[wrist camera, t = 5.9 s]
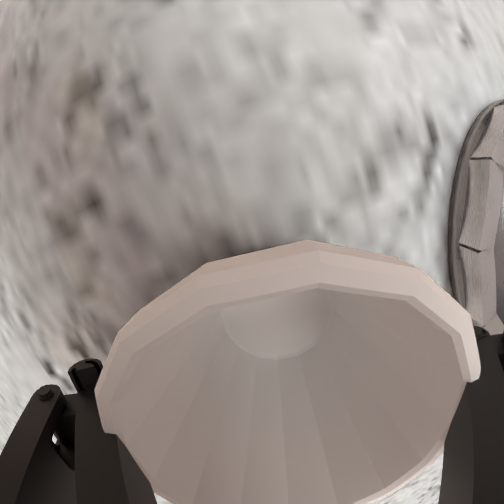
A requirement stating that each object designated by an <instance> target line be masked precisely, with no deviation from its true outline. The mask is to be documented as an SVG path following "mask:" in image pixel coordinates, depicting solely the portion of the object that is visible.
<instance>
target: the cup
mask: <svg viewBox="0 0 504 504" xmlns="http://www.w3.org/2000/svg"><path fill="white" fill-rule="evenodd" d="M480 371H481V364H480V358H479V352H478V347H477V342H476V337H475V333H474V328H473V324H472V320H471V316H470V314H469V313H468V312H467V311H466V310H465V309H464V308H463V307H462V306H461V305H460V304H459V303H458V302H457V301H456V300H455V299H453V298H452V297H451V296H450V295H449V294H448V293H447V292H446V291H445V290H444V289H442V288H441V287H440V286H439V285H438V284H437V283H436V282H435V281H433V280H432V279H431V278H430V277H429V276H428V275H427V274H425V273H424V272H423V271H422V270H421V269H419V268H417V267H415V266H413V265H411V264H409V263H407V262H405V261H403V260H401V259H399V258H396V257H392V256H387V255H382V254H377V253H372V252H368V251H363V250H358V249H353V248H348V247H343V246H338V245H333V244H327V243H322V242H317V241H312V240H303V241H298V242H294V243H290V244H286V245H281V246H277V247H273V248H268V249H264V250H260V251H255V252H251V253H247V254H243V255H238V256H234V257H230V258H225V259H221V260H217V261H212V262H208V263H205V264H204V265H202V266H201V267H199V268H198V269H197V270H195V271H194V272H192V273H191V274H189V275H188V276H187V277H185V278H184V279H182V280H181V281H180V282H178V283H177V284H175V285H174V286H172V287H171V288H170V289H168V290H167V291H165V292H164V293H163V294H161V295H160V296H158V297H157V298H156V299H154V300H153V301H151V302H150V303H149V304H147V305H146V306H144V307H143V308H142V309H140V310H139V311H138V312H137V313H136V314H135V315H134V316H133V317H132V318H131V319H130V320H129V321H128V322H127V323H126V324H125V325H124V326H123V327H122V328H121V329H120V330H119V331H118V333H117V335H116V337H115V339H114V342H113V344H112V347H111V349H110V351H109V354H108V356H107V359H106V361H105V364H104V366H103V369H102V371H101V374H100V376H99V379H98V382H97V384H96V387H95V390H94V392H95V397H96V402H97V406H98V411H99V415H100V420H101V424H102V427H103V430H104V432H105V433H110V434H116V435H117V436H118V437H119V438H120V440H121V441H122V442H123V443H124V445H125V446H126V447H127V449H128V451H129V452H130V454H131V455H132V457H133V458H134V460H135V461H136V463H137V464H138V466H139V467H140V469H141V470H142V472H143V473H144V475H145V476H146V477H147V479H148V480H149V482H150V484H151V487H152V490H153V492H154V493H156V494H158V495H159V496H161V497H163V498H164V499H166V500H168V501H170V502H171V503H173V504H372V503H374V502H376V501H379V500H381V499H383V498H385V497H387V496H389V495H391V494H393V493H394V492H396V491H397V490H399V489H400V488H401V487H403V486H404V485H406V484H407V483H408V482H410V481H411V480H412V479H414V478H415V477H416V476H418V475H419V474H420V473H422V472H423V471H424V470H425V469H427V468H428V467H429V466H430V465H431V464H433V463H434V462H435V460H436V459H437V458H438V457H439V456H440V454H441V453H442V452H443V451H444V442H445V439H446V436H447V433H448V430H449V427H450V424H451V421H452V419H453V417H454V414H455V412H456V410H457V407H458V405H459V402H460V400H461V397H462V394H463V392H464V389H465V386H466V383H467V382H473V381H475V380H477V379H479V376H480Z"/></svg>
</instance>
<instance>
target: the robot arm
mask: <svg viewBox="0 0 504 504" xmlns="http://www.w3.org/2000/svg"><path fill="white" fill-rule="evenodd" d="M473 328H474V333H475V337H476V342H477V347H478V352H479V358H480V364H481V371H480V376H479V379H477V380H475V381H473V382H467V383H466V386H465V389H464V392H463V394H462V397H461V400H460V402H459V405H458V407H457V410H456V412H455V414H454V417H453V419H452V421H451V424H450V427H449V430H448V433H447V436H446V439H445V442H444V457H443V470H442V480H441V489H440V496H439V503H438V504H504V331H503V333H502V334H496V335H490V334H489V332H488V331H487V330H485V329H484V328H482V327H478V326H473ZM102 369H103V365H102V363H101V361H100V360H98V359H85V360H82V361H79V362H77V363H76V364H74V365H73V366H72V367H71V368H70V369H69V371H68V374H69V376H70V378H71V380H72V382H73V384H74V386H75V388H76V390H77V394H69V395H63V393H62V391H61V389H60V387H59V386H57V385H52V384H51V385H45V386H42V387H40V389H38V390H37V391H36V392H35V393H34V394H33V396H32V397H31V399H30V401H29V402H28V404H27V406H26V408H25V409H24V411H23V413H22V415H21V416H20V418H19V420H18V422H17V424H16V426H15V427H14V429H13V431H12V433H11V435H10V437H9V439H8V441H7V443H6V445H5V447H4V449H3V451H2V453H1V455H0V504H157V502H156V499H155V496H154V493H153V490H152V487H151V484H150V482H149V480H148V479H147V477H146V476H145V475H144V473H143V472H142V470H141V469H140V467H139V466H138V464H137V463H136V461H135V460H134V458H133V457H132V455H131V454H130V452H129V451H128V449H127V447H126V446H125V445H124V443H123V442H122V441H121V440H120V438H119V437H118V436H117V435H116V434H110V433H105V432H104V430H103V427H102V424H101V420H100V415H99V411H98V406H97V402H96V397H95V392H94V390H95V387H96V384H97V382H98V379H99V376H100V374H101V371H102ZM53 434H54V435H55V437H56V438H57V442H56V444H54V443H53V441H52V436H53Z"/></svg>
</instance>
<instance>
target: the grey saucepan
mask: <svg viewBox="0 0 504 504" xmlns="http://www.w3.org/2000/svg"><path fill="white" fill-rule="evenodd" d="M448 252H449V269H450V280H451V285H452V290H453V296H454V299H455V300H456V301H457V302H458V303H459V304H460V305H461V306H462V307H463V308H464V309H465V310H466V311H467V312H468V313H469V314H470V316H471V320H472V324H473V326H478V327H482V328H484V329H485V330H487V331H488V332H489V334H490V335H496V334H502V333H503V331H504V100H500V101H497V102H495V103H492V104H491V105H490V106H488V107H487V108H485V109H484V110H483V111H482V113H481V114H480V115H479V116H478V117H477V119H476V120H475V122H474V123H473V125H472V127H471V128H470V131H469V133H468V135H467V137H466V140H465V142H464V145H463V148H462V151H461V154H460V157H459V160H458V165H457V169H456V173H455V178H454V184H453V190H452V196H451V205H450V215H449V234H448Z"/></svg>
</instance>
